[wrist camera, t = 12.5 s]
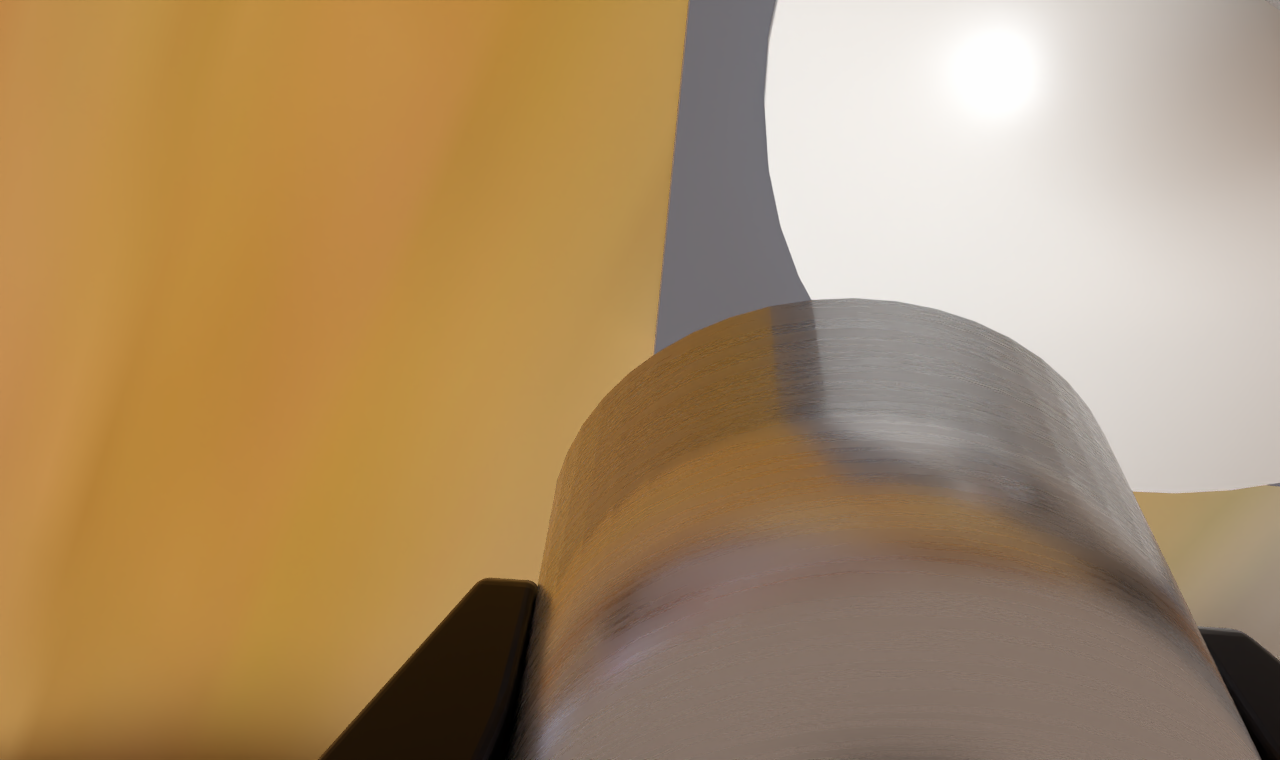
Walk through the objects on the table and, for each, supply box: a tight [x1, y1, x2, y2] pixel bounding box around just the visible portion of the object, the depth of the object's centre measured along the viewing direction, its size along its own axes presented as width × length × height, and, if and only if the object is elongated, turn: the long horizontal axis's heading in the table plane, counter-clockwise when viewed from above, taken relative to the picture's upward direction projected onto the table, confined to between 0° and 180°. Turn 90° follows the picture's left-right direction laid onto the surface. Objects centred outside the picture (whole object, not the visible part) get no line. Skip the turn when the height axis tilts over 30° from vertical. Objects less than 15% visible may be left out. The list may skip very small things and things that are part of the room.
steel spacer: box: [505, 298, 1262, 760], centre depth 8 cm, size 4×4×4 cm
